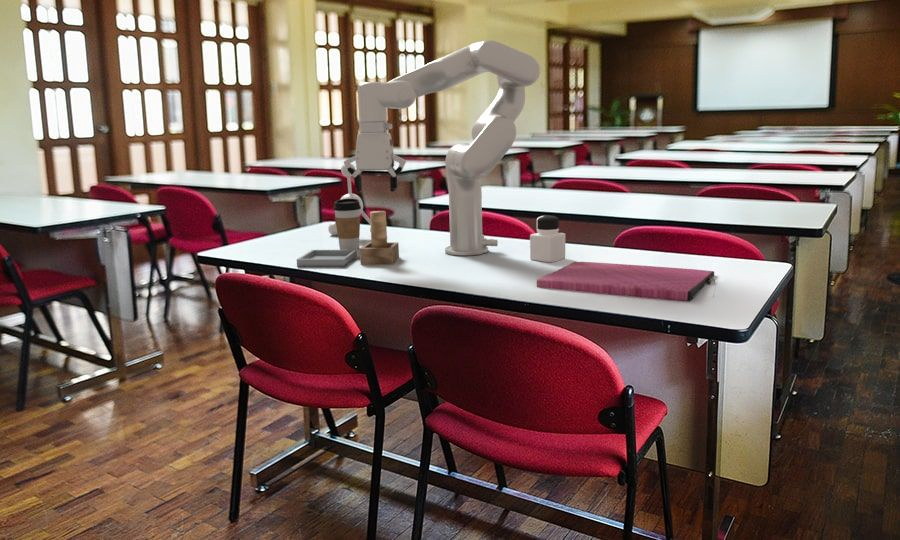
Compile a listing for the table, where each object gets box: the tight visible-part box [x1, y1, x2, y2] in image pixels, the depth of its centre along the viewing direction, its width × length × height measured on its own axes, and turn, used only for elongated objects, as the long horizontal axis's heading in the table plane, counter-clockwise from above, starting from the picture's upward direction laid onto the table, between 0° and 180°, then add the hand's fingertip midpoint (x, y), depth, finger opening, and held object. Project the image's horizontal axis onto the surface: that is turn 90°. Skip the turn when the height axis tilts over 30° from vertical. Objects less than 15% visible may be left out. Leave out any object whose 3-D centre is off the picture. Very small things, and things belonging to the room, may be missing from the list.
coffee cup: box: [333, 198, 361, 250], centre depth 236 cm, size 8×8×15 cm
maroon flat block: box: [536, 261, 716, 303], centre depth 186 cm, size 40×4×27 cm
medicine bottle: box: [529, 215, 566, 263], centre depth 213 cm, size 7×7×12 cm
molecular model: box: [327, 163, 371, 236], centre depth 252 cm, size 18×20×25 cm
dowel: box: [369, 210, 388, 248], centre depth 217 cm, size 4×4×14 cm
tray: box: [296, 249, 358, 268], centre depth 219 cm, size 14×14×2 cm
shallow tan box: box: [359, 241, 400, 265], centre depth 218 cm, size 9×9×4 cm
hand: (376, 191), depth 214 cm, fingers open, 9 cm apart
